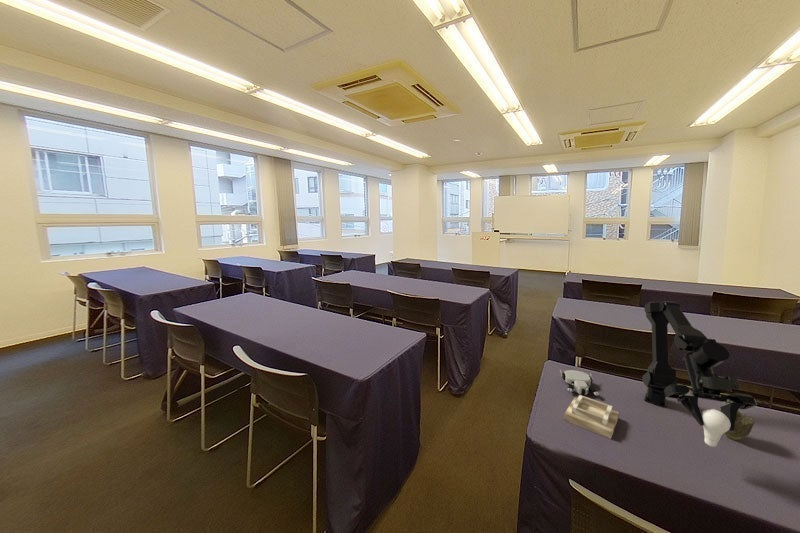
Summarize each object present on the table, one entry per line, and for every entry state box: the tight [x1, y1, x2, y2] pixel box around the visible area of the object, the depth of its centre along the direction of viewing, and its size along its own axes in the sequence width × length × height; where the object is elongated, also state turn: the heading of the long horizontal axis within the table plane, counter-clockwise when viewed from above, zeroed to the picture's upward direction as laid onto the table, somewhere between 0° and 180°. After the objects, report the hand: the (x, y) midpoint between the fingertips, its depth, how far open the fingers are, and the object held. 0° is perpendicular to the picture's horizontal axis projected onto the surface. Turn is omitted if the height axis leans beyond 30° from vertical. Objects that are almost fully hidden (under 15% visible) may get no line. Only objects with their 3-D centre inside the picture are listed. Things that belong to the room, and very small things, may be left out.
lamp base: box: [563, 394, 620, 440], centre depth 108 cm, size 14×14×5 cm
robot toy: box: [559, 369, 600, 396], centre depth 128 cm, size 12×4×15 cm
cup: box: [719, 409, 755, 442], centre depth 98 cm, size 8×7×8 cm
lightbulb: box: [700, 408, 731, 448], centre depth 86 cm, size 6×6×11 cm
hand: (716, 428), depth 84 cm, fingers closed on lightbulb, 6 cm apart
